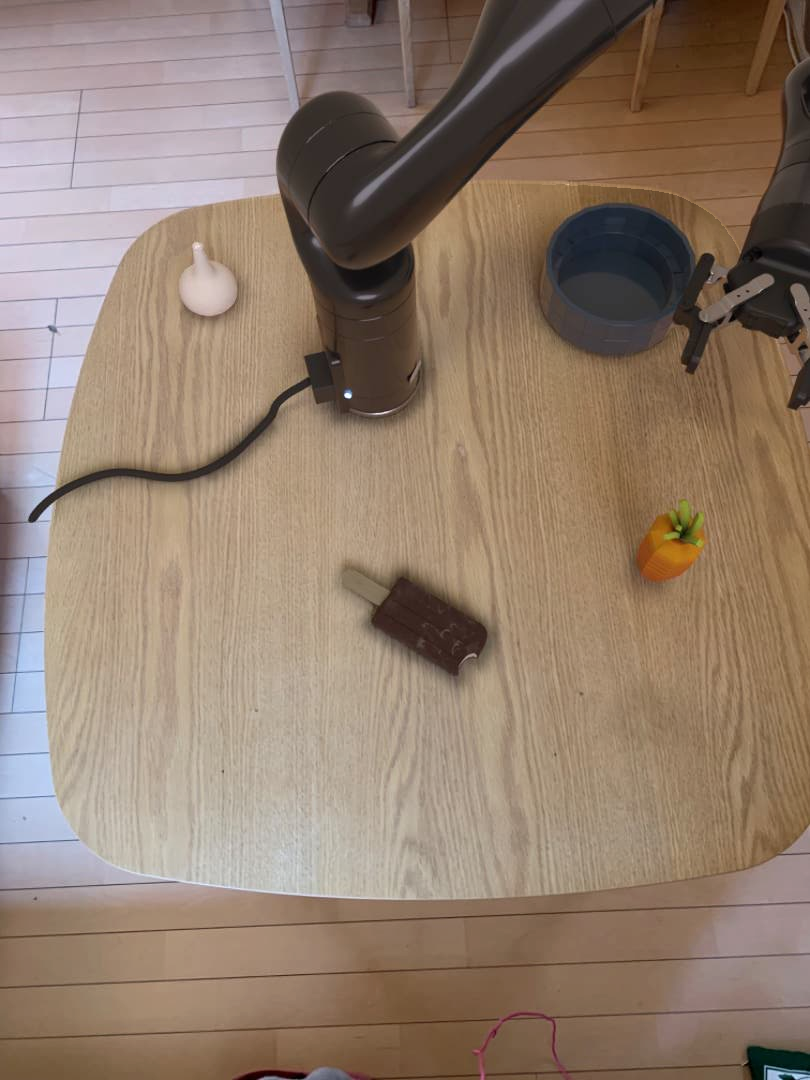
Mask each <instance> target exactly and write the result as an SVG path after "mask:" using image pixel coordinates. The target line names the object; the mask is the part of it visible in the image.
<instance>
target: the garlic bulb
mask: <svg viewBox="0 0 810 1080" xmlns="http://www.w3.org/2000/svg"><path fill="white" fill-rule="evenodd" d="M191 248H192V255H193V256H192V258H193V263H192V264H190V265H188V267H185V269H184V271H183V272H182V273H181V275H180V278H179V280H178V293H179V297H180V299H181V301H182V303H183V305H185V307H186V308H187V309H189V310H190V311H191V312H193V313H194V314H197V315H200V316H204V317H214V316H218V315H220V314H223V313H225V312H227V311H228V310H229V309H230V308H232V306H233V305H234V303H235V302H236V300H237V297H238V283H237V279H236V277H235V275H234V273H233V272H232V271H231V269H230V268H228V267H227V266H226V265H224V264H223V263H221V262H219V261H215V260H210V259H209V256H208V255H207V252H206V251H205V248H204V244H203V243H202V242H201V241H200V242H199V241H195V242H193V243H192V246H191Z"/></svg>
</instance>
